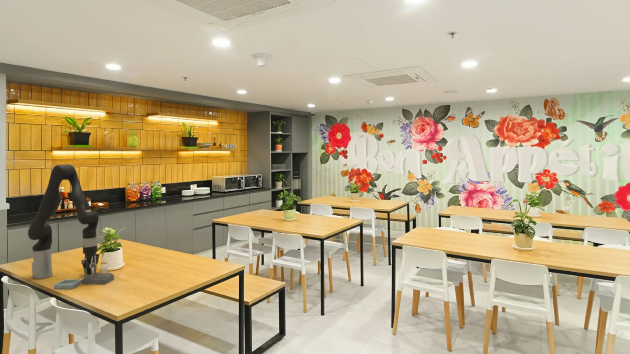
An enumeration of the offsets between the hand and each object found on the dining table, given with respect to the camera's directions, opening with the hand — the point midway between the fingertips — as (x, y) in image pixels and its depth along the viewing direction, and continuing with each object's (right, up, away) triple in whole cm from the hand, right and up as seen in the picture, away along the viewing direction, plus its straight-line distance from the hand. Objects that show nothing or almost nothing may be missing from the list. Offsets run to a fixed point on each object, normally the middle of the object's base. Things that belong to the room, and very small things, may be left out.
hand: (91, 273), depth 225 cm
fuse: (+8, -2, 0) cm, 8 cm away
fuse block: (+4, -5, 0) cm, 7 cm away
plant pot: (-8, -4, +13) cm, 16 cm away
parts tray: (-9, -6, -8) cm, 13 cm away
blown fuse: (0, -2, 0) cm, 2 cm away
